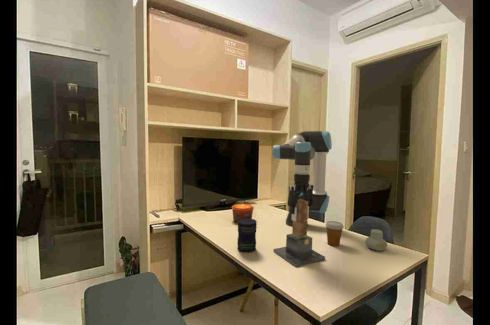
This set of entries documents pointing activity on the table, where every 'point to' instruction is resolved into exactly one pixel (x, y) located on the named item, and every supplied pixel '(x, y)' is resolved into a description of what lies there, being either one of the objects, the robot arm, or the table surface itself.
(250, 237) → the storage jar
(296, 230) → the column
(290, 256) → the grey socket base
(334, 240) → the disposable coffee cup
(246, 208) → the food container
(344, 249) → the table surface
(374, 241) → the air freshener
